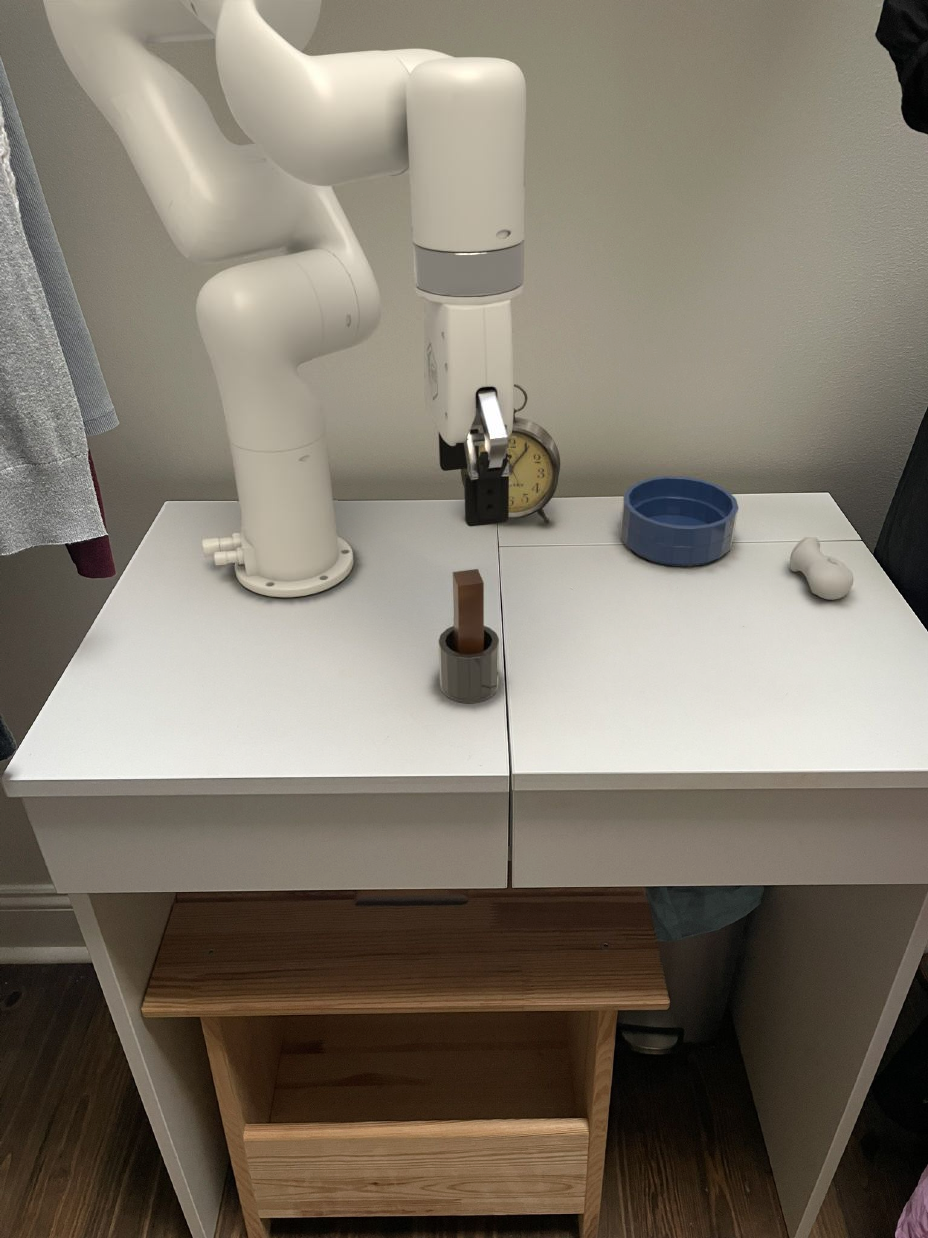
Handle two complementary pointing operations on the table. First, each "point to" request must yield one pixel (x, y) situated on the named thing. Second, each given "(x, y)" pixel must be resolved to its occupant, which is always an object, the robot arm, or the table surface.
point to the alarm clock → (529, 467)
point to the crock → (469, 669)
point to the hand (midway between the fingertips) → (472, 493)
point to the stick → (468, 612)
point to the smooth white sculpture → (821, 570)
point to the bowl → (678, 520)
